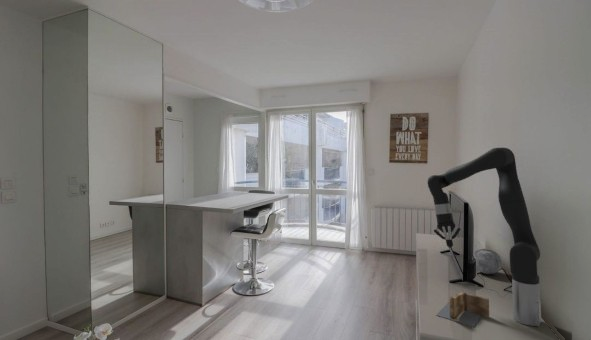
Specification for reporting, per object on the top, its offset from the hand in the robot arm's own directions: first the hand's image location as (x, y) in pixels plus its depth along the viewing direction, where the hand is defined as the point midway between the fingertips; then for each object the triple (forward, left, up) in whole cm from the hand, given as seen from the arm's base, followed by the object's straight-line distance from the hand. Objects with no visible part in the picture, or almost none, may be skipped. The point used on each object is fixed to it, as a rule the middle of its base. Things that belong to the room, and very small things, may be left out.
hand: (450, 247), depth 151 cm
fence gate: (-8, +17, -25) cm, 31 cm away
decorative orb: (-6, -47, -26) cm, 54 cm away
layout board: (-8, +15, -26) cm, 31 cm away
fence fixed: (-13, +11, -26) cm, 31 cm away
